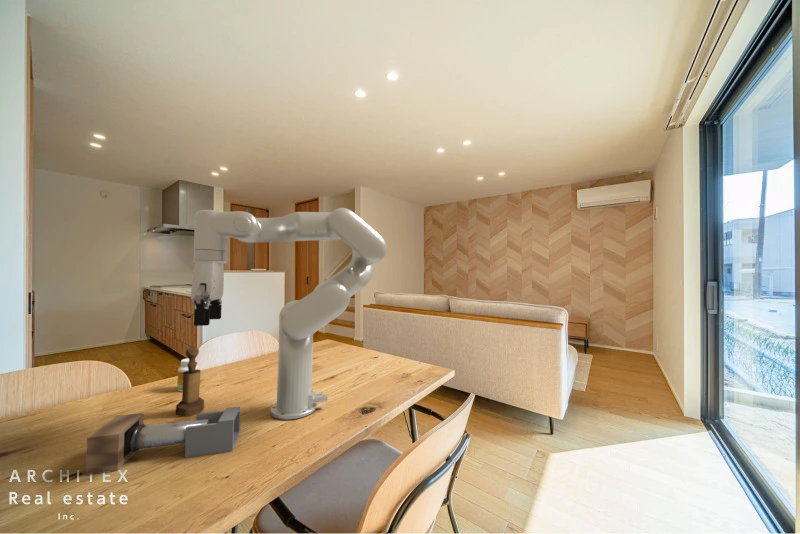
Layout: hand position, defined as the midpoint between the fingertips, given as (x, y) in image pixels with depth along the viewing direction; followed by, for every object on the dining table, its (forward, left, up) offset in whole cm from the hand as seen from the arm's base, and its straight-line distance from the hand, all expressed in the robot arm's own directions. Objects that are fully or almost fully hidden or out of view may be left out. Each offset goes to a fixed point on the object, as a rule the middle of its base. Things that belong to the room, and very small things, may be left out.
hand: (208, 322), depth 77 cm
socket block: (+12, +12, -26) cm, 31 cm away
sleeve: (-6, +12, -26) cm, 29 cm away
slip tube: (+4, +12, -25) cm, 28 cm away
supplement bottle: (+13, -26, -26) cm, 39 cm away
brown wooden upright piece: (+6, -8, -26) cm, 28 cm away
